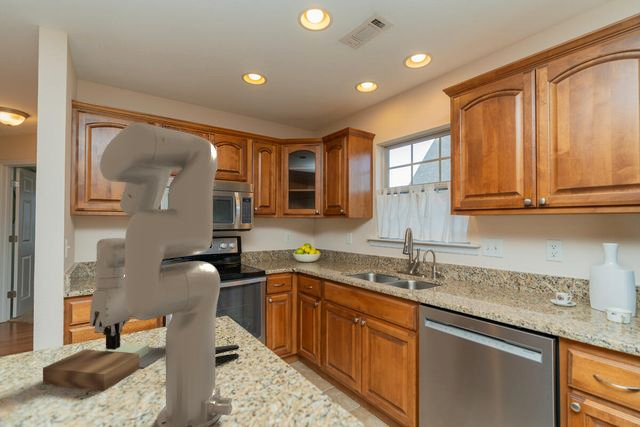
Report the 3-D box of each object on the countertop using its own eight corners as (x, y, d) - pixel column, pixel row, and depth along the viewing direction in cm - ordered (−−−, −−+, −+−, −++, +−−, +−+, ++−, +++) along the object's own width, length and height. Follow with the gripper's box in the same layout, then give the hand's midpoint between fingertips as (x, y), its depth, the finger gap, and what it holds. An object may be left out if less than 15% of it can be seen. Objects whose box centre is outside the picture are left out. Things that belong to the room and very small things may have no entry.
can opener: (179, 382, 78) (179, 360, 78) (171, 372, 84) (171, 351, 84) (245, 361, 90) (244, 341, 90) (234, 353, 95) (234, 334, 95)
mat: (172, 350, 97) (172, 349, 97) (143, 368, 85) (144, 367, 85) (117, 345, 101) (117, 344, 101) (82, 362, 89) (82, 361, 89)
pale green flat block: (133, 353, 89) (133, 361, 89) (148, 344, 95) (148, 352, 95) (106, 350, 90) (106, 359, 90) (123, 342, 96) (123, 350, 96)
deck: (139, 369, 85) (139, 354, 85) (104, 391, 74) (104, 374, 74) (84, 363, 88) (84, 349, 88) (42, 383, 78) (42, 367, 78)
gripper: (123, 276, 96) (123, 337, 95) (76, 287, 81) (76, 359, 81) (144, 277, 94) (144, 338, 94) (100, 288, 80) (100, 361, 79)
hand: (113, 348), depth 87 cm, fingers closed
